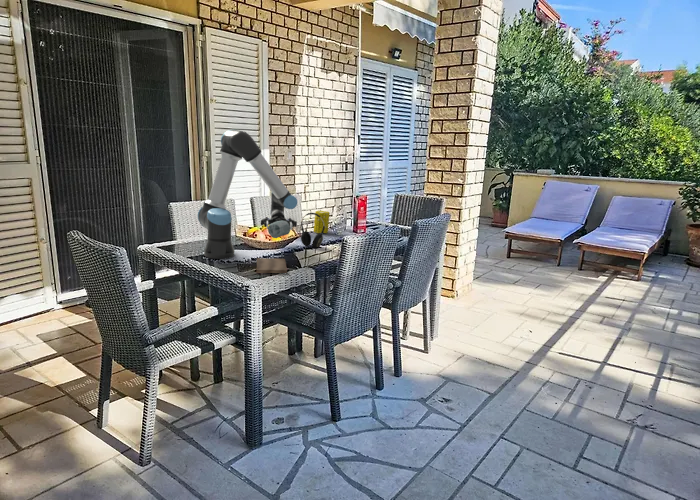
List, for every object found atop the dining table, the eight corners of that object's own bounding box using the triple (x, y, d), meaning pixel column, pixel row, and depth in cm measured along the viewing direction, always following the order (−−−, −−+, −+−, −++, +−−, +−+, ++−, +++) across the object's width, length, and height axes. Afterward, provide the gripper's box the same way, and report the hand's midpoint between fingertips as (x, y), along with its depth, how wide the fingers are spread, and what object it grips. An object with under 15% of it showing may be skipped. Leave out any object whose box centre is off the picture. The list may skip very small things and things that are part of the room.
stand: (256, 273, 217) (256, 269, 216) (256, 262, 234) (256, 258, 233) (286, 274, 220) (286, 270, 219) (284, 262, 237) (284, 258, 236)
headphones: (303, 243, 275) (305, 209, 270) (326, 247, 271) (328, 213, 265) (296, 246, 268) (298, 212, 262) (320, 250, 263) (322, 215, 257)
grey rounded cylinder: (279, 234, 232) (276, 215, 234) (265, 239, 237) (262, 221, 239) (296, 237, 244) (293, 219, 246) (282, 242, 248) (279, 224, 250)
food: (311, 235, 301) (318, 233, 310) (327, 234, 296) (334, 231, 305) (308, 211, 299) (315, 210, 308) (324, 210, 294) (331, 208, 303)
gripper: (298, 225, 261) (302, 234, 241) (255, 223, 256) (255, 232, 236) (299, 212, 259) (303, 220, 239) (256, 210, 254) (256, 218, 234)
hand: (279, 226), depth 237 cm, fingers closed on grey rounded cylinder, 11 cm apart
